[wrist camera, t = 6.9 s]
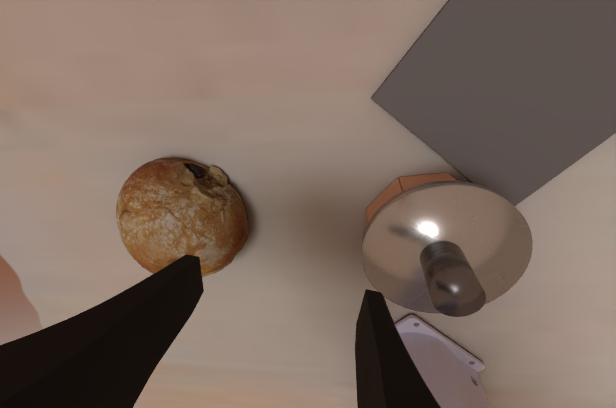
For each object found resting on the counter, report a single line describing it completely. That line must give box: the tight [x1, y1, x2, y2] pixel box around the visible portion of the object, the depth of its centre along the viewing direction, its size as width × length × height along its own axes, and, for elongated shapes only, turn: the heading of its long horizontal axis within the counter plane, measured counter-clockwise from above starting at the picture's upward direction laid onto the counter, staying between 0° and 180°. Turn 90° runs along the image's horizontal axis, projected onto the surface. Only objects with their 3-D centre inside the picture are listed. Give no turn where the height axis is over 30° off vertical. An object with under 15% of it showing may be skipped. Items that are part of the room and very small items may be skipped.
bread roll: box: [116, 158, 248, 277], centre depth 22 cm, size 10×10×8 cm
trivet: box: [371, 0, 616, 206], centre depth 15 cm, size 12×12×1 cm
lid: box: [362, 180, 532, 317], centre depth 15 cm, size 9×9×4 cm
